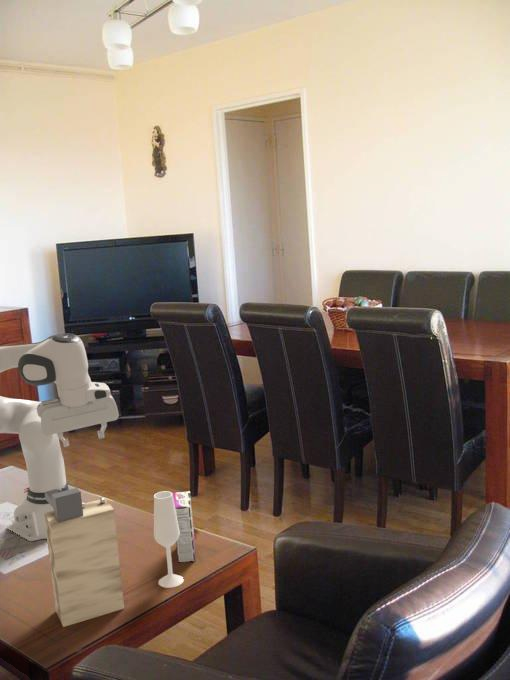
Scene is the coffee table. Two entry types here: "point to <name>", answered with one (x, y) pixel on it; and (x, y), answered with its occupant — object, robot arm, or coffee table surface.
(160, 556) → the coffee table surface
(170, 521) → the champagne flute
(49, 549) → the pedestal
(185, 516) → the candy bar box
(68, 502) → the t handle
